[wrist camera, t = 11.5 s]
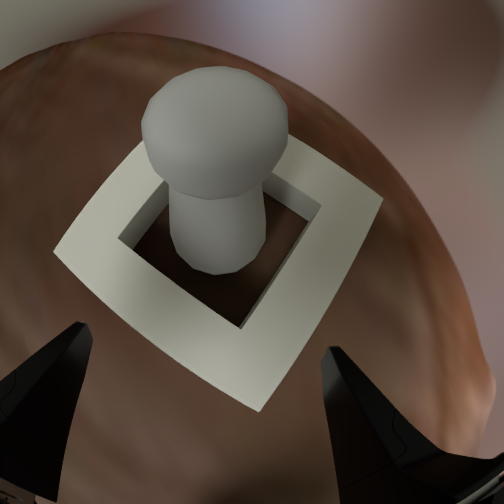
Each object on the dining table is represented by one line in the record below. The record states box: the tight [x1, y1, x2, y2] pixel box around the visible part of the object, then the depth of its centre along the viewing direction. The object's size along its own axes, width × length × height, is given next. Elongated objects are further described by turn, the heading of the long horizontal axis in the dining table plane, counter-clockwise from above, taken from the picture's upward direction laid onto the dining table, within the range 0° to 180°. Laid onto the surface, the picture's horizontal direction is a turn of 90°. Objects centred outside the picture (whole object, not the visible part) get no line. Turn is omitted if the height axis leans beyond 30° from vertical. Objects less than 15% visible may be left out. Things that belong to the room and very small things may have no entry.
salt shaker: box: [141, 66, 288, 275], centre depth 13 cm, size 6×6×13 cm
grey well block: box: [53, 134, 383, 412], centre depth 17 cm, size 16×16×3 cm
